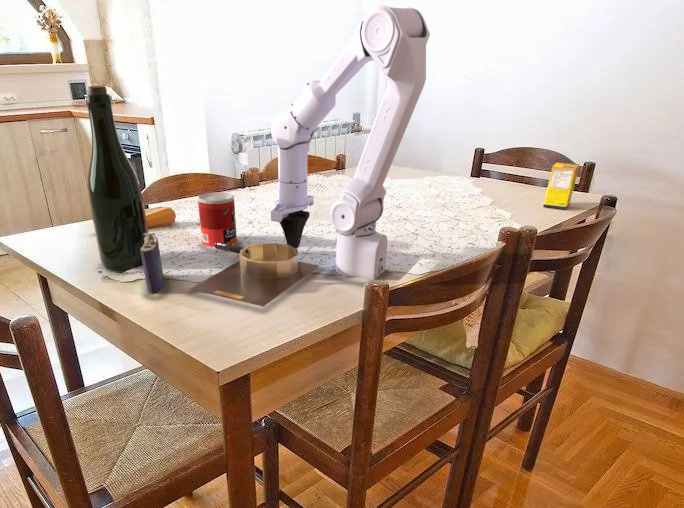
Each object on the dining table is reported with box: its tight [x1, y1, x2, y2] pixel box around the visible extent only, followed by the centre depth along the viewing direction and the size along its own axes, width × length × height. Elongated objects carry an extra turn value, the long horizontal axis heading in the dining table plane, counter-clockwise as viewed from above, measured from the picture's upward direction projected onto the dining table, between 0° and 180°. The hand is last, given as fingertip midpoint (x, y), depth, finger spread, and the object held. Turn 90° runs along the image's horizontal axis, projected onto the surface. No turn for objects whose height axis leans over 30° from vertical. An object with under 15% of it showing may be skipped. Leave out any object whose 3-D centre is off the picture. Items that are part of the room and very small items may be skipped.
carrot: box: [145, 206, 177, 229], centre depth 131 cm, size 20×4×4 cm, turn 119°
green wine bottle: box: [85, 85, 150, 273], centre depth 102 cm, size 10×10×33 cm
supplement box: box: [543, 162, 580, 211], centre depth 144 cm, size 6×6×11 cm
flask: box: [140, 232, 165, 299], centre depth 97 cm, size 9×3×11 cm, turn 8°
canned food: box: [197, 191, 238, 248], centre depth 118 cm, size 8×8×11 cm
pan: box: [214, 242, 299, 280], centre depth 106 cm, size 19×11×4 cm, turn 61°
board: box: [189, 260, 320, 307], centre depth 102 cm, size 16×22×1 cm
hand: (293, 247), depth 112 cm, fingers closed
